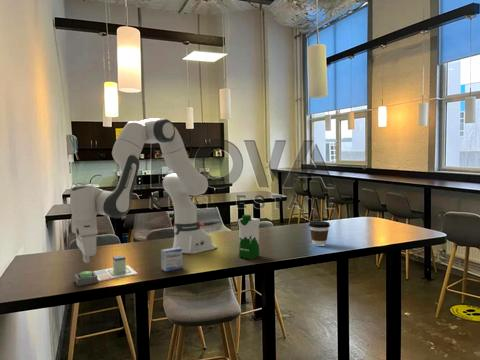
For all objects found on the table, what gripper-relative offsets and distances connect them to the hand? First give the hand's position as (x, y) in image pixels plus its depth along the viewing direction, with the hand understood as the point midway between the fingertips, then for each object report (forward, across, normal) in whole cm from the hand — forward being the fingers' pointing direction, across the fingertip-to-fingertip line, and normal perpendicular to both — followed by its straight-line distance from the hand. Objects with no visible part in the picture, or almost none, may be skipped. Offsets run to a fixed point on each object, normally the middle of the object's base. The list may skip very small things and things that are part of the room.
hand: (86, 262), depth 143 cm
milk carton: (+9, +8, +70) cm, 71 cm away
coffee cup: (+10, +11, +112) cm, 113 cm away
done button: (+7, 0, -1) cm, 7 cm away
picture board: (+8, -3, +11) cm, 14 cm away
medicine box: (+8, +4, +33) cm, 34 cm away
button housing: (+8, 0, -1) cm, 8 cm away
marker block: (+7, -3, +13) cm, 15 cm away
